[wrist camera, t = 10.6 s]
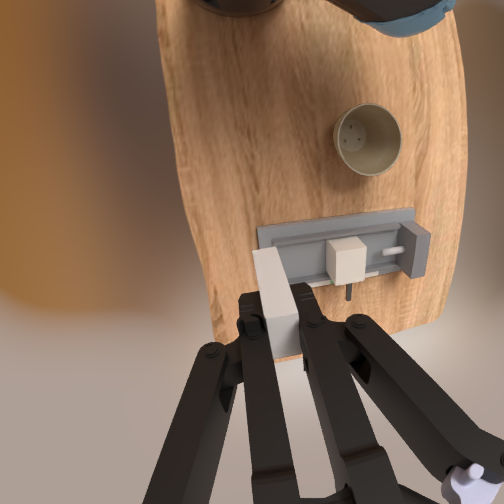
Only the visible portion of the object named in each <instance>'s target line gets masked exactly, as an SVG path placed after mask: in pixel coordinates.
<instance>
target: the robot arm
mask: <svg viewBox="0 0 504 504" xmlns="http://www.w3.org/2000/svg"><path fill="white" fill-rule="evenodd" d="M195 1H196V2H197V3H198V4H199V5H200V6H202V7H203V8H205V9H207V10H209V11H211V12H213V13H216V14H219V15H224V16H230V17H247V16H254V15H258V14H261V13H264V12H266V11H268V10H270V9H272V8H274V7H275V6H277V5H278V4H279V3H280V2H281V1H282V0H195ZM326 1H328V2H330V3H332V4H334V5H335V6H337V7H339V8H341V9H343V10H344V11H346V12H348V13H350V14H351V15H353V17H354V18H355V19H356V20H358V21H359V22H361V23H364V24H367V25H369V26H371V27H373V28H374V29H376V30H378V31H379V32H381V33H383V34H385V35H388V36H391V37H397V38H402V37H410V36H414V35H417V34H419V33H422V32H424V31H426V30H428V29H430V28H431V27H433V26H435V25H436V24H437V23H439V22H440V21H441V20H442V19H443V18H444V17H445V14H444V13H446V12H448V11H451V10H452V8H453V7H454V5H455V3H456V0H326ZM252 253H253V258H254V264H255V270H256V275H257V281H258V287H259V291H256V292H250V293H244V294H241V296H240V298H239V300H238V303H239V315H240V317H239V318H238V320H237V328H238V332H239V337H238V338H237V339H236V340H235V341H233V342H231V343H229V344H227V345H225V346H224V345H223V344H222V343H219V342H210V343H208V344H205V345H204V346H202V347H201V348H200V350H199V352H198V354H197V357H196V359H195V362H194V365H193V367H192V370H191V372H190V375H189V378H188V380H187V383H186V386H185V388H184V391H183V394H182V396H181V399H180V401H179V405H178V407H177V410H176V413H175V415H174V418H173V421H172V423H171V426H170V429H169V431H168V434H167V437H166V439H165V442H164V445H163V448H162V451H161V453H160V456H159V459H158V462H157V464H156V467H155V470H154V472H153V475H152V478H151V481H150V484H149V486H148V489H147V492H146V495H145V498H144V500H143V503H142V504H209V500H210V496H211V492H212V488H213V484H214V480H215V476H216V472H217V468H218V464H219V460H220V456H221V452H222V448H223V444H224V440H225V436H226V432H227V428H228V424H229V419H230V414H231V411H232V407H233V403H234V399H235V394H236V390H237V384H240V383H242V382H244V391H245V402H246V412H247V423H248V433H249V443H250V453H251V463H252V476H251V483H252V493H253V502H254V504H439V503H437V502H435V501H433V500H431V499H429V498H427V497H425V496H422V495H421V494H419V493H417V492H415V491H413V490H411V489H409V488H407V487H405V486H403V485H401V484H398V483H397V480H396V477H395V474H394V471H393V469H392V466H391V463H390V461H389V458H388V455H387V453H386V451H385V449H384V448H383V447H382V446H379V444H378V442H377V440H376V438H375V435H374V432H373V429H372V427H371V424H370V422H369V419H368V416H367V414H366V411H365V408H364V406H363V403H362V401H361V398H360V396H359V393H358V391H357V388H356V386H355V383H354V381H353V378H352V376H351V374H352V375H353V376H354V378H355V379H356V380H357V381H358V383H359V384H360V385H361V387H362V388H363V389H364V390H365V392H366V393H367V394H368V395H369V397H370V398H371V399H372V400H373V402H374V403H375V404H376V406H377V407H378V408H379V409H380V411H381V412H382V413H383V414H384V416H385V417H386V418H387V420H389V422H390V423H391V425H392V426H393V427H394V428H395V429H396V431H397V432H398V434H399V435H400V436H401V437H402V439H403V440H404V441H405V442H406V444H407V445H408V446H409V448H410V449H411V450H412V451H413V453H414V454H415V455H416V456H417V458H418V459H419V460H420V461H421V463H422V464H423V465H424V466H425V468H426V469H427V470H428V471H429V472H430V473H431V474H432V475H433V476H434V477H435V478H436V479H437V480H439V481H440V482H442V486H441V493H442V496H443V498H445V499H446V500H447V501H448V502H449V504H491V503H492V501H493V499H494V497H495V496H496V494H497V491H498V490H499V488H500V486H501V485H502V483H503V482H504V440H502V439H500V438H498V437H496V436H493V435H492V434H490V433H488V432H485V431H483V430H482V429H480V428H479V427H478V426H477V425H476V424H475V423H474V422H473V421H472V420H471V419H470V418H469V417H468V415H467V414H465V412H464V411H463V410H462V409H461V408H460V407H459V406H458V405H457V404H456V403H455V402H454V401H453V400H452V399H451V398H450V397H449V396H448V394H446V392H445V391H443V389H442V388H441V387H440V386H439V385H438V384H437V383H436V382H435V381H434V380H433V379H432V378H431V377H430V376H429V375H428V374H427V373H426V372H425V371H424V370H423V369H422V368H421V367H420V366H419V365H418V364H417V363H416V362H415V361H414V360H413V359H412V358H411V357H410V356H409V355H408V354H407V353H406V352H405V351H404V350H403V349H402V348H401V347H400V346H399V345H398V344H397V343H396V342H395V341H394V340H393V339H392V338H391V337H390V336H389V335H388V334H387V333H386V332H385V331H384V330H383V329H382V328H381V327H380V326H379V325H378V324H377V323H376V322H375V321H374V320H372V319H371V318H370V317H369V316H367V315H364V314H354V315H351V316H350V317H348V318H347V320H346V322H334V321H330V320H328V319H327V318H326V316H324V315H323V314H322V312H321V310H320V307H319V305H318V303H317V300H316V298H315V296H314V293H313V291H312V289H311V287H310V286H309V285H308V284H307V283H305V282H301V283H296V284H290V285H289V283H288V280H287V277H286V274H285V271H284V268H283V266H282V263H281V260H280V257H279V254H278V251H277V248H276V246H275V247H270V248H264V249H259V250H253V251H252ZM301 350H302V353H303V364H304V371H306V373H307V377H308V380H309V384H310V388H311V391H312V395H313V398H314V402H315V406H316V410H317V413H318V417H319V421H320V425H321V428H322V432H323V436H324V440H325V444H326V447H327V451H328V455H329V459H330V463H331V467H332V471H333V474H334V479H335V488H336V493H335V494H333V495H331V496H328V497H326V498H300V495H299V489H298V485H297V479H296V474H295V469H294V465H293V460H292V454H291V449H290V444H289V438H288V433H287V428H286V423H285V418H284V412H283V407H282V403H281V397H280V392H279V386H278V382H277V376H276V371H275V365H274V360H273V359H278V358H283V357H288V356H293V355H298V354H302V353H301Z"/></svg>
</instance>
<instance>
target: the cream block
mask: <svg viewBox="0 0 504 504" xmlns="http://www.w3.org/2000/svg"><path fill="white" fill-rule="evenodd" d="M366 252H367V247H366V246H365V244H364V243H363V242H362V241H361V240H360V239H359V238H358V237H357V236H356V235H351V236H344V237H337V238H330V239H326V271H327V273H328V274H329V276H330V278H331V279H332V281H333V283H334V284H335V286H339V285H344V284H346V301H351V292H352V283H355V282H360V281H364V279H365V267H366Z"/></svg>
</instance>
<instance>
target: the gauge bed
mask: <svg viewBox="0 0 504 504" xmlns="http://www.w3.org/2000/svg"><path fill="white" fill-rule="evenodd" d="M414 221H415V209H414V208H412V207H409V208H400V209H391V210H383V211H374V212H366V213H357V214H349V215H341V216H333V217H325V218H318V219H310V220H302V221H295V222H288V223H280V224H273V225H266V226H259V227H257V234H258V242H259V249H264V248H270V247H275V246H276V248H277V251H278V254H279V257H280V260H281V263H282V266H283V268H284V271H285V274H286V277H287V280H288V283H289V285H290V284H296V283H301V282H305V283H307V284H308V285H309V286H310V287H311V288H312V287H317V286H323V285H329V284H334V283H333V281H332V279H331V278H330V276H329V274H328V273H327V271H326V239H330V238H337V237H344V236H351V235H356V236H357V237H358V238H359V239H360V240H361V241H362V242H363V243H364V244H365V246H366V247H367V252H366V267H365V278H367V277H372V276H377V275H381V274H386V273H391V272H396V271H401V270H403V272H404V273H405V274H406V275H407V276H408V277H409V278H410V279H414V278H418V277H422V276H424V275H425V270H426V264H427V258H428V252H429V245H430V238H431V233H430V232H428V231H427V230H425V229H424V228H423V227H421V226H420V225H418V224H417V223H416V222H414Z"/></svg>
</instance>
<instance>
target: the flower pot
mask: <svg viewBox="0 0 504 504" xmlns="http://www.w3.org/2000/svg"><path fill="white" fill-rule="evenodd" d="M358 138H360V139H358ZM333 141H334V145H335V148H336V151H337V153H338V155H339V156H340V158H341V159H342V161H343V162H344V163H345V164H346V165H347V166H348V167H349V168H350V169H352V170H353V171H355V172H356V173H358V174H361V175H365V176H376V175H380V174H382V173H384V172H386V171H388V170H389V169H390V168H391V167H392V166H393V165H394V164H395V162H396V161H397V159H398V157H399V155H400V152H401V148H402V133H401V129H400V126H399V124H398V122H397V120H396V118H395V117H394V116H393V115H392V113H391V112H389V111H388V110H387V109H386V108H384V107H382V106H380V105H377V104H372V103H365V104H360V105H357V106H355V107H352V108H350V109H349V110H347V111H346V112H345V113H343V114H342V115H341V117H340V118H339V119H338V121H337V122H336V125H335V127H334V131H333ZM345 141H346V142H345Z"/></svg>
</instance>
